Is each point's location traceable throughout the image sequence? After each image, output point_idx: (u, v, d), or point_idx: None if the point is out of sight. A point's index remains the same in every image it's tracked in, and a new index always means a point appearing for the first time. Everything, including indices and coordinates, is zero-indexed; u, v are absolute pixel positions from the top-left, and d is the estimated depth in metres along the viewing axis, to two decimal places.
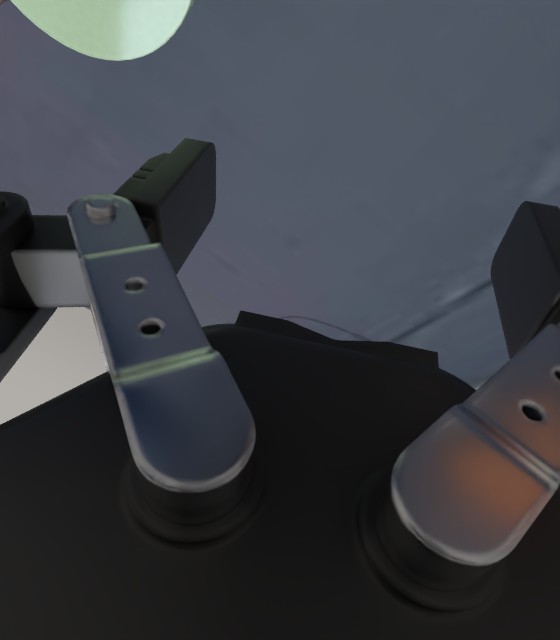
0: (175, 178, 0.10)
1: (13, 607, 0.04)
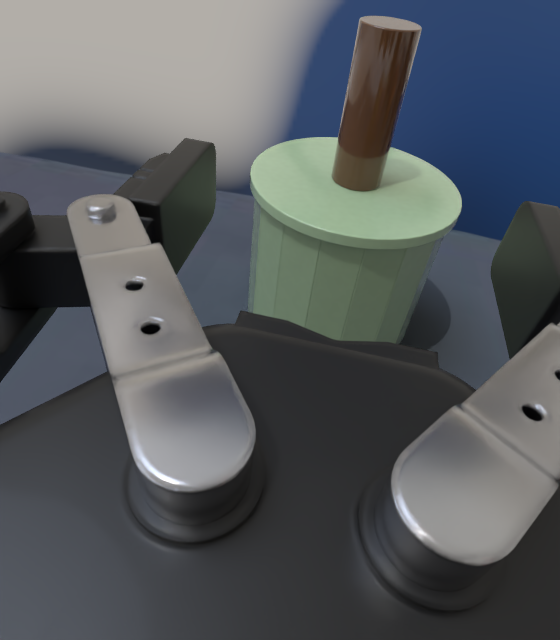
0: (175, 178, 0.10)
1: (12, 608, 0.04)
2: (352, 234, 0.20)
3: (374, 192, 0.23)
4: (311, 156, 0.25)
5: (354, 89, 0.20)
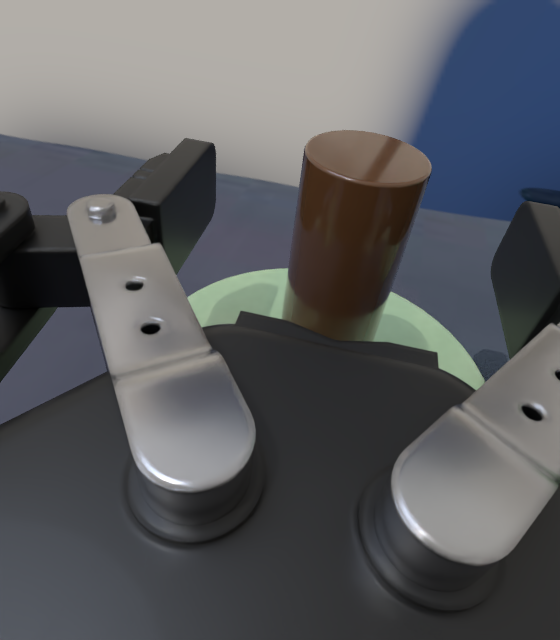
0: (175, 178, 0.10)
1: (12, 608, 0.04)
2: None
3: None
4: None
5: (299, 268, 0.10)
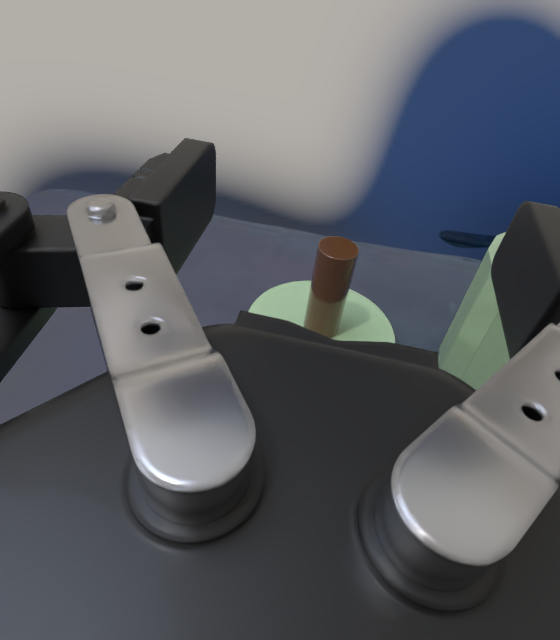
0: (175, 178, 0.10)
1: (13, 608, 0.04)
2: None
3: None
4: (290, 303, 0.35)
5: (315, 283, 0.30)
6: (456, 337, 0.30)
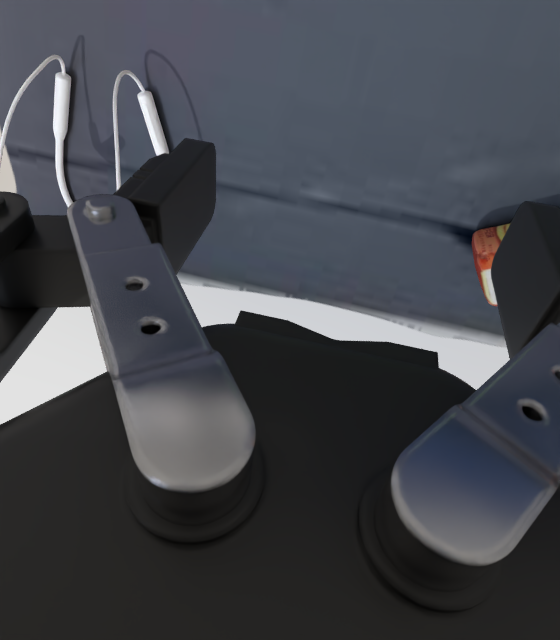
0: (175, 178, 0.10)
1: (12, 608, 0.04)
2: None
3: None
4: None
5: None
6: None
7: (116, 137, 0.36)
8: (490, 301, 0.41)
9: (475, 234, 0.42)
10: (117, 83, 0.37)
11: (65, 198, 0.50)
